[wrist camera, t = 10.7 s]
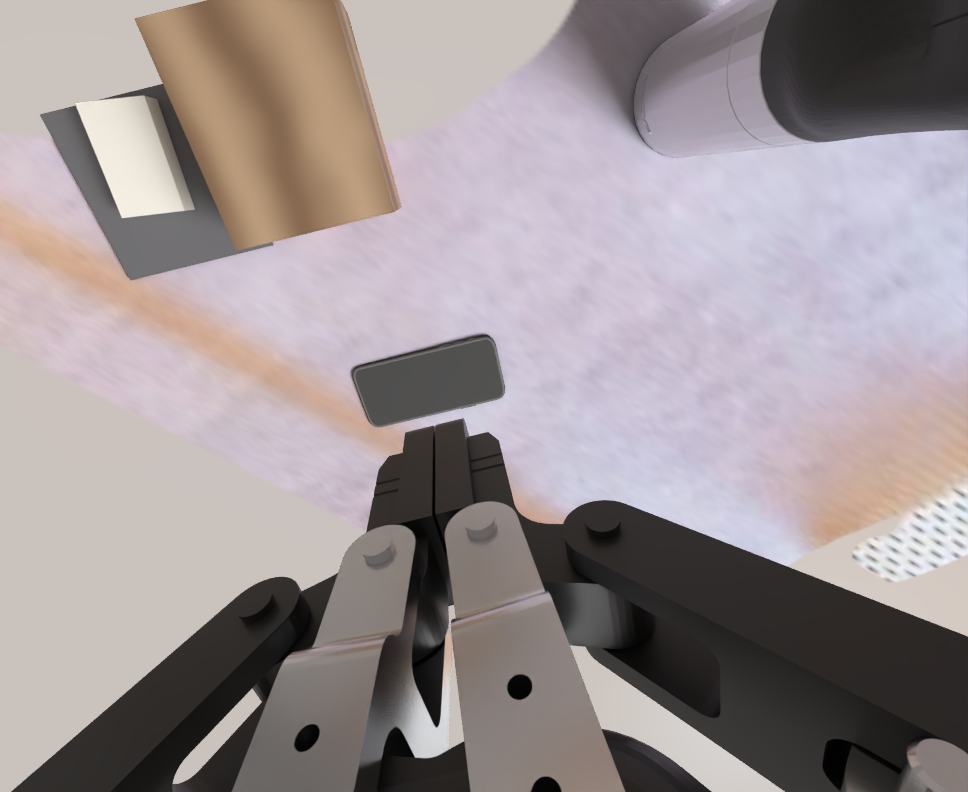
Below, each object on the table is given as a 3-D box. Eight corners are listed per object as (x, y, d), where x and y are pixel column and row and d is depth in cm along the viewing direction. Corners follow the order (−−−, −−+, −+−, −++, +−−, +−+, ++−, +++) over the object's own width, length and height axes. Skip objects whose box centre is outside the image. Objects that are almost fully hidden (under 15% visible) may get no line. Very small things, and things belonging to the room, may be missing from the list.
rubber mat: (204, 74, 36) (202, 74, 36) (273, 244, 42) (271, 245, 41) (43, 115, 36) (39, 114, 36) (133, 279, 42) (130, 280, 42)
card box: (74, 102, 34) (92, 106, 36) (121, 218, 38) (136, 216, 40) (143, 95, 35) (158, 99, 36) (184, 210, 38) (196, 209, 40)
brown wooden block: (347, 14, 36) (325, -30, 28) (401, 206, 42) (394, 211, 34) (195, 52, 36) (134, 18, 28) (270, 239, 42) (236, 250, 34)
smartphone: (348, 368, 47) (493, 333, 47) (349, 365, 48) (492, 331, 47) (371, 431, 50) (507, 398, 50) (373, 426, 51) (506, 394, 51)
